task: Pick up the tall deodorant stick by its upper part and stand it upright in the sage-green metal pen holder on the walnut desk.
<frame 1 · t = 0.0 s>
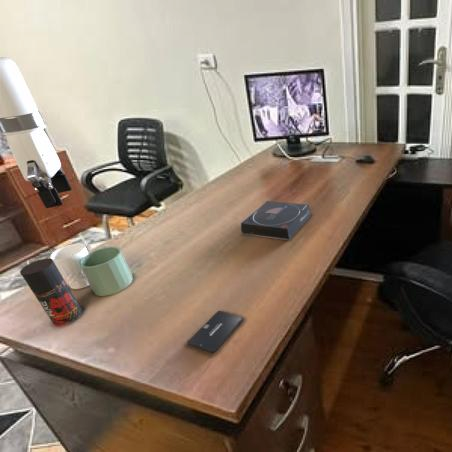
hand: (60, 198, 81), 26 cm above the table, tool pointing down, fingers open, 9 cm apart
portable cd player: (277, 224, 116), on the table
solid state drive: (216, 332, 75), on the table
pen holder: (113, 284, 94), on the table
white cup: (84, 282, 96), on the table
deodorant: (68, 317, 84), on the table
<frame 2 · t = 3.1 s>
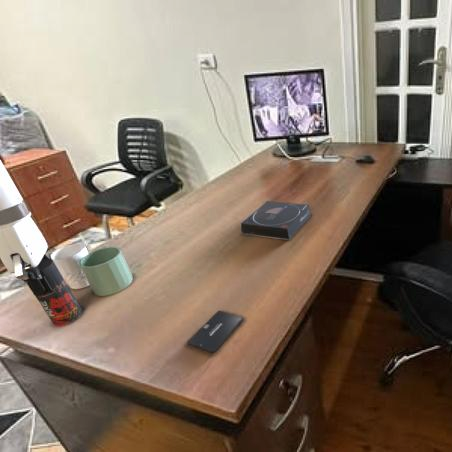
hand: (48, 284, 79), 10 cm above the table, tool pointing down, fingers closed on deodorant, 6 cm apart
deodorant: (68, 317, 84), on the table, touching gripper
everything else where it was.
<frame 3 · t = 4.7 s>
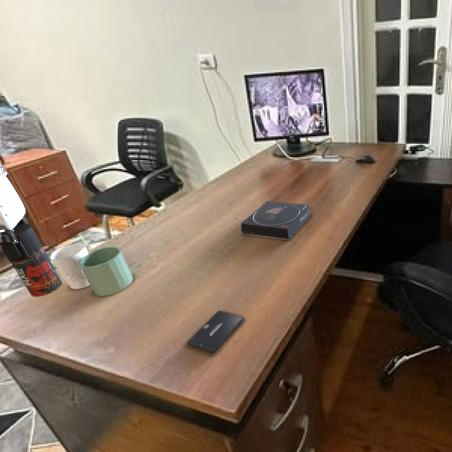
hand: (25, 251, 74), 19 cm above the table, tool pointing down, fingers closed on deodorant, 6 cm apart
deodorant: (47, 288, 79), point 9 cm above the table, touching gripper
everything else where it was.
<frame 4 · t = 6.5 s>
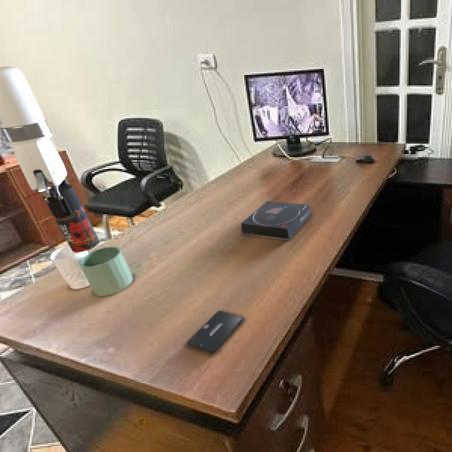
hand: (67, 209, 81), 23 cm above the table, tool pointing down, fingers closed on deodorant, 6 cm apart
deodorant: (86, 246, 86), point 13 cm above the table, touching gripper
everything else where it was.
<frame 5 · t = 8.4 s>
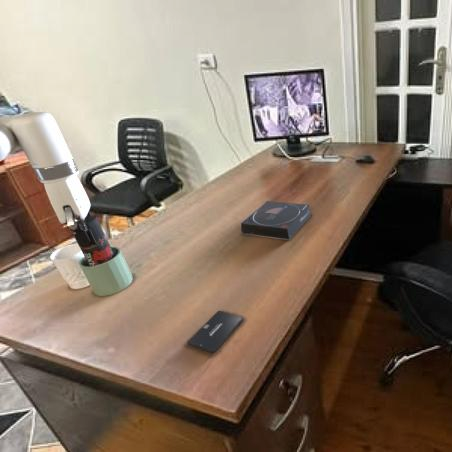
hand: (91, 238, 87), 14 cm above the table, tool pointing down, fingers closed on deodorant, 6 cm apart
deodorant: (107, 271, 92), point 4 cm above the table, touching gripper
everything else where it was.
when the fingers open (11 cm above the table, at t = 9.8 s): deodorant stays where it is, resting on pen holder.
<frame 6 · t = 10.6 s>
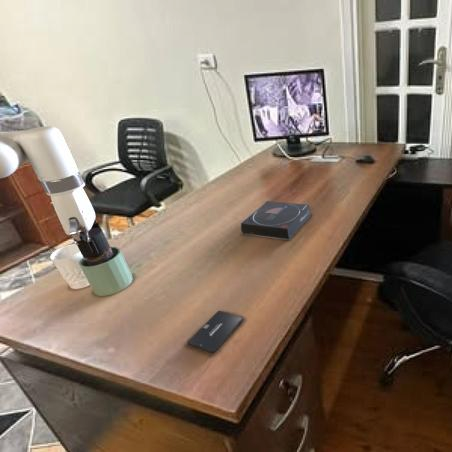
hand: (94, 246, 88), 12 cm above the table, tool pointing down, fingers open, 9 cm apart
deodorant: (112, 282, 93), point 1 cm above the table, touching pen holder
everything else where it was.
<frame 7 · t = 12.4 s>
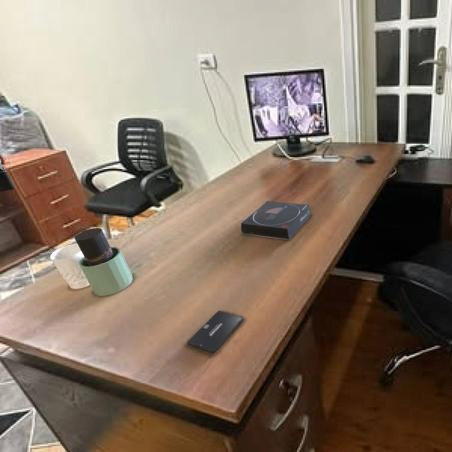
nothing on the table moved.
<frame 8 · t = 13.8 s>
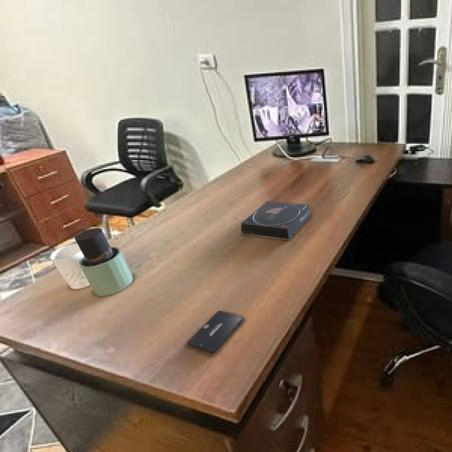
nothing on the table moved.
at the end: deodorant 0.1 cm off-centre in the pen holder, point 0.6 cm above the pen holder's base; deodorant tilted 0°; the gripper is holding nothing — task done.
